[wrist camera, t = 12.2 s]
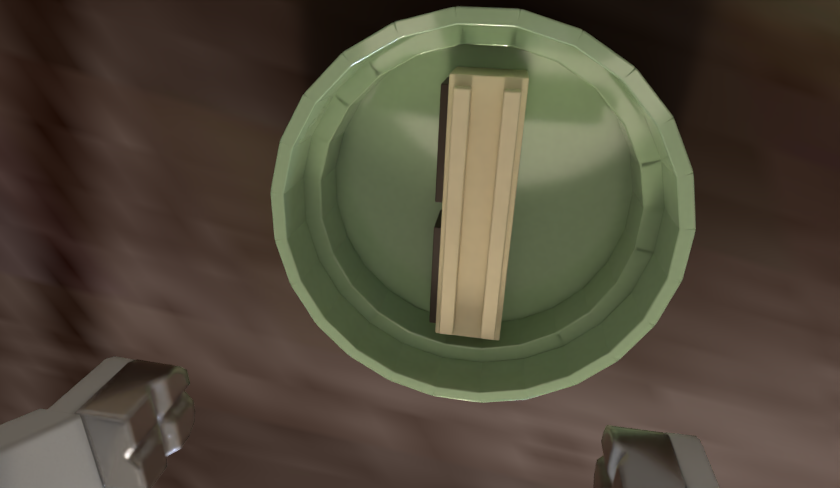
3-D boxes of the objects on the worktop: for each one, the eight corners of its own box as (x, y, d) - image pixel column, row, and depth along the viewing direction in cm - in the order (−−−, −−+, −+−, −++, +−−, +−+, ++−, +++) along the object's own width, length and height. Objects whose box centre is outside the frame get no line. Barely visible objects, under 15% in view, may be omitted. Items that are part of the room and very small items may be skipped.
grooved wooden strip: (448, 65, 24) (438, 74, 21) (527, 70, 24) (529, 79, 21) (435, 304, 29) (425, 340, 26) (500, 311, 29) (498, 349, 26)
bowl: (306, -1, 25) (253, -2, 20) (700, 14, 22) (753, 17, 17) (321, 318, 32) (285, 376, 27) (622, 354, 29) (643, 425, 24)
